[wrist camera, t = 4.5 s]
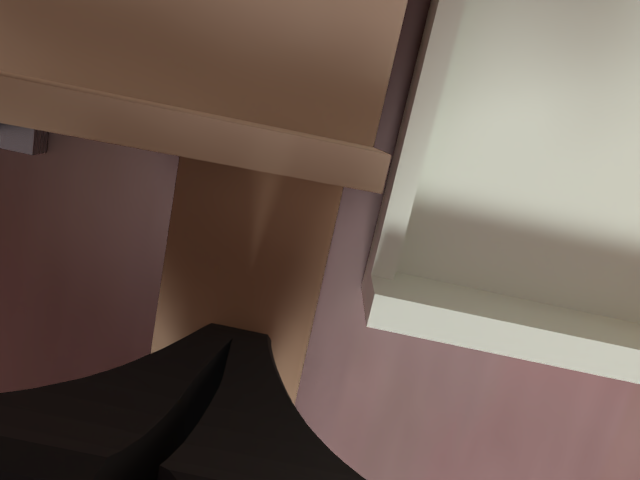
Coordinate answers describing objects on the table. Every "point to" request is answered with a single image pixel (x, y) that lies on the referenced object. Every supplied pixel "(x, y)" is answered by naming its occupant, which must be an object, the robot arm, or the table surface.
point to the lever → (221, 135)
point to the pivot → (23, 139)
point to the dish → (518, 186)
